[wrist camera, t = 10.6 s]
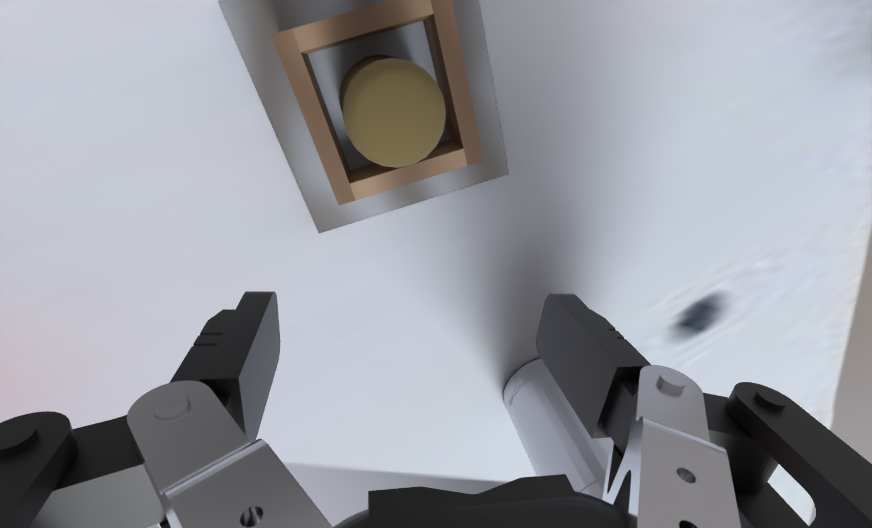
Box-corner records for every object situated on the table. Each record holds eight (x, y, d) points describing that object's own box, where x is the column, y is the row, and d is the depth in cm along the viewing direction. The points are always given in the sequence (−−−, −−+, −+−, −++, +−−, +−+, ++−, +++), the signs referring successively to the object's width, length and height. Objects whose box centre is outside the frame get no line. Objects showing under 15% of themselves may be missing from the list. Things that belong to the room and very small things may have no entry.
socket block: (460, -63, 27) (485, -92, 22) (502, 169, 34) (527, 186, 29) (224, 4, 26) (195, -11, 21) (320, 226, 33) (314, 254, 28)
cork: (411, 155, 31) (439, 195, 21) (331, 132, 29) (320, 164, 19) (435, 71, 28) (478, 72, 19) (349, 40, 27) (348, 24, 17)
